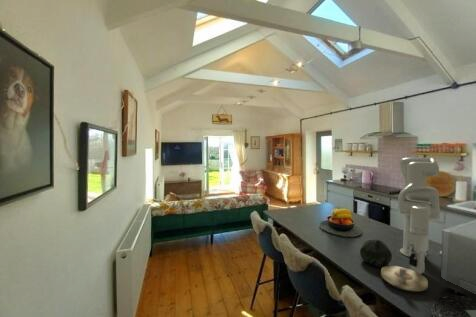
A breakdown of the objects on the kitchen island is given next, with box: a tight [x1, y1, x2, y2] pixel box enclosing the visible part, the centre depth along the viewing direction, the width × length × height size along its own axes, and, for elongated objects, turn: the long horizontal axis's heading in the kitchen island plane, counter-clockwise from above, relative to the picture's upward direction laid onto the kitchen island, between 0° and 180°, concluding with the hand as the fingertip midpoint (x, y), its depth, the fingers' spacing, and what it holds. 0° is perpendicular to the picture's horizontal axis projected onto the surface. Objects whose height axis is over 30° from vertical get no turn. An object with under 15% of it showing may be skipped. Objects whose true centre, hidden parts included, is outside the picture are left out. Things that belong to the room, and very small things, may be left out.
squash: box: [359, 239, 393, 268], centre depth 127 cm, size 14×15×15 cm
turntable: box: [380, 265, 429, 292], centre depth 109 cm, size 18×18×8 cm
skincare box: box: [410, 251, 426, 275], centre depth 118 cm, size 6×4×12 cm
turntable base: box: [387, 282, 421, 293], centre depth 109 cm, size 14×14×2 cm
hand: (417, 263), depth 118 cm, fingers closed on skincare box, 6 cm apart
